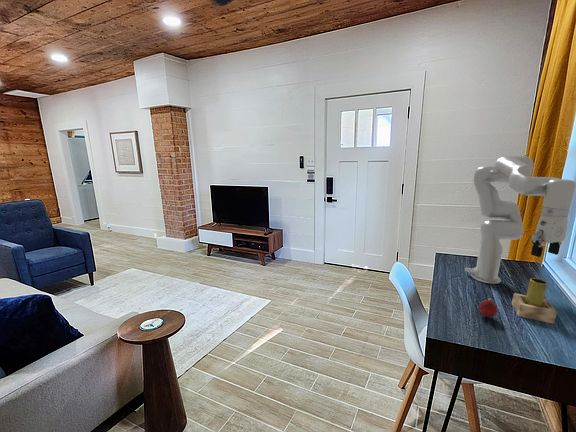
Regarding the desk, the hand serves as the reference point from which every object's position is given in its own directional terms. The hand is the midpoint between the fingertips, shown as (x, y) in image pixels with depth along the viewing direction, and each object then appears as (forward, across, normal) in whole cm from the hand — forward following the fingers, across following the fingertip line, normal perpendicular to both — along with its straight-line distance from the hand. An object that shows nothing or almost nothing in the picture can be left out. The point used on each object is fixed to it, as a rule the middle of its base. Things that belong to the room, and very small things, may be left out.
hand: (544, 254), depth 108 cm
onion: (+25, -22, +2) cm, 33 cm away
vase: (+26, 0, 0) cm, 26 cm away
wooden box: (+25, 0, -1) cm, 25 cm away
